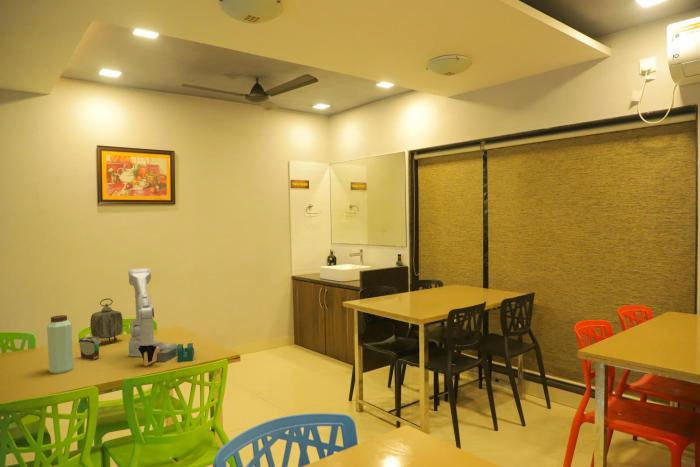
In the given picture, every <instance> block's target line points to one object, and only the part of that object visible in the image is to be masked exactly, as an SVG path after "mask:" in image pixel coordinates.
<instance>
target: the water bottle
mask: <svg viewBox="0 0 700 467" xmlns="http://www.w3.org/2000/svg"><path fill="white" fill-rule="evenodd" d="M72 329H73V328H72V323H71V321H69V320H68V316H67V314H66V315H65V314H63V315H62V314H61V315H54V316H51V317H50V321H49V323H47V325H46V331H47V332H46V334H47V353H48V355H47V356H48V370H49V373H51V374H53V375H54V374H55V375H56V374H63V373H68V372H70V371H72V370H73V369H74V354H73V353H74V352H73V335H72V334H73V331H72Z"/></svg>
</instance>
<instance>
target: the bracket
mask: <svg viewBox="0 0 700 467" xmlns="http://www.w3.org/2000/svg"><path fill="white" fill-rule="evenodd" d="M194 356H195V348H194V343H193V342H191V343H189V342H188V343H187V345H186V347H184V344H183V343H180V344H179V343H178V344H177V356H176V357H177V359H176V360H177V361H176V362H177V363H185V362H187V363H188V362H193V360H194Z"/></svg>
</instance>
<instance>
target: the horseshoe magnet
mask: <svg viewBox="0 0 700 467" xmlns="http://www.w3.org/2000/svg"><path fill="white" fill-rule="evenodd" d="M162 343H163V346H161V347H160V352H157V361H156V362H158V363H166V362H168V361H169V360H172V359H174V358H175V357H177V345H178V344H177V343H168V342H167V343H164V342H162ZM157 347H158V346H157Z"/></svg>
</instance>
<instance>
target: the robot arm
mask: <svg viewBox="0 0 700 467" xmlns="http://www.w3.org/2000/svg"><path fill="white" fill-rule="evenodd" d="M151 278H152V271H151V268H150V267H145V268H144V267H143V268H130V269H128V283H129V286H132V287H133V288H134V298H135V300H134V301H135V302H134V303H135V318H134V319H133V320H132V321H131V322H130V336H131V337H130V338H129V340H128V357H139V358H142V359H143V361H144V352H146V351H147V355H148V362H151V361H152V359H153V354H154V352H155V349H156V348H157V346H158V347H161V346H163V343H164V342H163V341H159V340H155V338H154V335H155V334H154V319H155V309H154V306H153V304H152V300H151V299H152V298H151V296H150V294H149V293H148V284H149V283H150V281H151Z"/></svg>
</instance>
